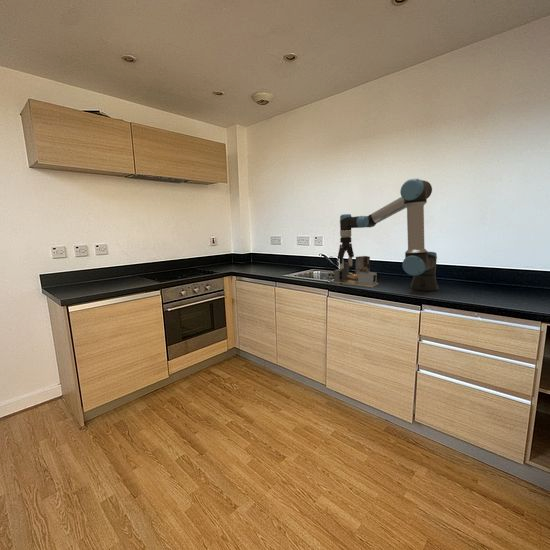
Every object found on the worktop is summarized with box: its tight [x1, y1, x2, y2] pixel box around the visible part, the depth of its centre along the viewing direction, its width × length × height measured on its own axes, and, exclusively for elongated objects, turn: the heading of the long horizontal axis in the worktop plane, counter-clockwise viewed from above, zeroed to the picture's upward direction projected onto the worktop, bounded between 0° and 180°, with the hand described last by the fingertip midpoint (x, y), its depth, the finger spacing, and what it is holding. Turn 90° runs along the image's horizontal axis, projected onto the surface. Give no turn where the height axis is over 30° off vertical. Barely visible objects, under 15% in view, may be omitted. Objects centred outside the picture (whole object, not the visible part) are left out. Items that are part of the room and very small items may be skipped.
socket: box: [333, 268, 342, 282], centre depth 206 cm, size 4×8×8 cm, turn 140°
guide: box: [331, 271, 380, 288], centre depth 199 cm, size 30×10×8 cm, turn 50°
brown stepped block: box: [340, 261, 358, 281], centre depth 200 cm, size 18×4×13 cm, turn 50°
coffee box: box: [354, 255, 371, 274], centre depth 222 cm, size 9×6×16 cm
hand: (346, 267), depth 202 cm, fingers open, 13 cm apart
